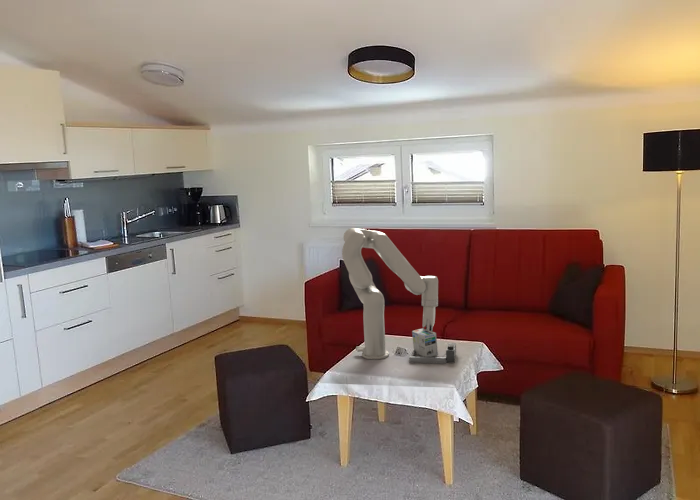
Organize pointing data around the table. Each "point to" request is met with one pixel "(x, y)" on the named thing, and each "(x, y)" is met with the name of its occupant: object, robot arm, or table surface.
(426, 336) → the light bulb box
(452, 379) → the table surface
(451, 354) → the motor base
